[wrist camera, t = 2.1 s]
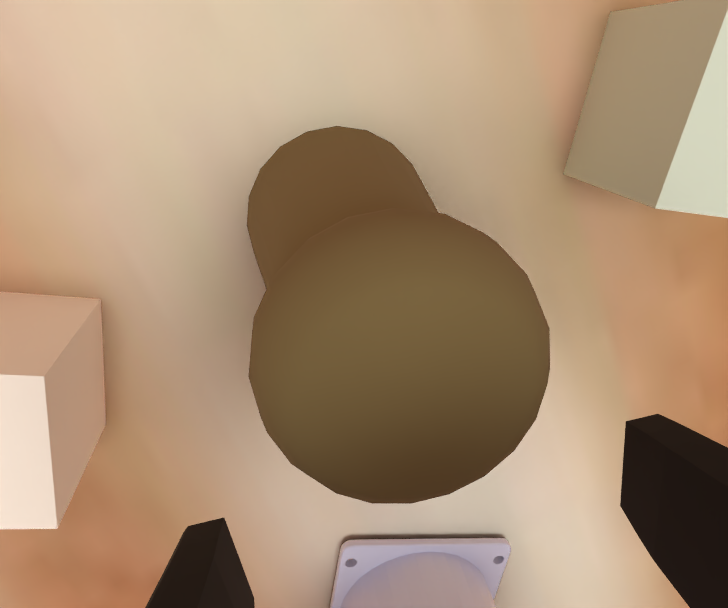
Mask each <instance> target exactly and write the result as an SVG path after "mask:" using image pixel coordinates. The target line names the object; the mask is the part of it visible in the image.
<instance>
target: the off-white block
mask: <svg viewBox="0 0 728 608" xmlns="http://www.w3.org/2000/svg"><path fill="white" fill-rule="evenodd" d="M105 425H106V409H105V384H104V358H103V332H102V307H101V299H97V298H83V297H69V296H56V295H42V294H28V293H15V292H1V291H0V529H58V526H59V524H60V522H61V520H62V518H63V516H64V513H65V511H66V509H67V507H68V505H69V503H70V501H71V498H72V496H73V494H74V492H75V490H76V488H77V486H78V483H79V481H80V479H81V477H82V475H83V473H84V470H85V468H86V466H87V464H88V462H89V460H90V458H91V455H92V453H93V451H94V449H95V447H96V445H97V442H98V440H99V438H100V436H101V434H102V432H103V430H104V427H105Z"/></svg>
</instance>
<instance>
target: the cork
mask: <svg viewBox="0 0 728 608" xmlns="http://www.w3.org/2000/svg"><path fill="white" fill-rule="evenodd" d="M247 227H248V231H249V235H250V239H251V243H252V247H253V250H254V254H255V257H256V260H257V263H258V265H259V268H260V271H261V274H262V277H263V280H264V283H265V286H266V289H267V290H266V292H265V294H264V297H263V299H262V301H261V303H260V305H259V308H258V310H257V312H256V314H255V316H254V321H253V330H252V342H251V354H250V366H249V379H250V383H251V386H252V389H253V393H254V396H255V400H256V403H257V406H258V410H259V413H260V416H261V419H262V421H263V423H264V426H265V428H266V431H267V433H268V434H269V436H270V437H271V438H272V439H273V441H274V442H275V443H276V445H277V446H278V447H279V448H280V450H281V451H282V452H283V454H284V455H285V456H286V458H287V459H288V460H289V461H290V463H291V464H292V465H294V466H295V467H297V468H298V469H300V470H301V471H303V472H304V473H306V474H307V475H309V476H310V477H312V478H313V479H315V480H316V481H318V482H320V483H321V484H323V485H324V486H326V487H327V488H329V489H330V490H332V491H334V492H335V493H337V494H341V495H344V496H348V497H352V498H355V499H359V500H362V501H366V502H370V503H415V502H419V501H423V500H427V499H431V498H435V497H439V496H443V495H447V494H450V493H452V492H454V491H456V490H458V489H460V488H462V487H464V486H466V485H468V484H470V483H472V482H474V481H476V480H478V479H480V478H482V477H484V476H485V475H486V474H487V473H489V472H490V471H491V470H492V469H493V468H494V467H496V466H497V465H498V464H499V463H500V462H501V461H503V460H504V459H505V458H506V457H507V456H508V455H510V454H511V453H512V452H513V451H514V450H515V449H516V447H517V446H518V444H519V443H520V441H521V440H522V438H523V437H524V436H525V434H526V433H527V431H528V430H529V428H530V427H531V426H532V424H533V423H534V421H535V420H536V417H537V414H538V411H539V408H540V405H541V402H542V399H543V396H544V393H545V390H546V387H547V383H548V376H549V370H550V342H549V326H548V324H547V321H546V319H545V316H544V314H543V311H542V309H541V306H540V304H539V301H538V299H537V296H536V294H535V291H534V289H533V287H532V285H531V283H530V280H529V278H528V276H527V274H526V273H525V272H524V271H523V270H522V269H521V268H520V267H519V266H518V264H517V263H516V262H515V261H514V260H513V259H512V258H511V257H510V256H509V255H508V254H507V253H506V252H505V251H504V250H503V248H502V247H501V246H500V245H499V244H498V243H497V242H495V241H494V240H493V239H491V238H490V237H488V236H487V235H486V234H484V233H483V232H481V231H478V230H476V229H474V228H472V227H470V226H468V225H466V224H464V223H462V222H460V221H458V220H456V219H454V218H452V217H450V216H448V215H446V214H442V213H438V211H437V209H436V208H435V206H434V204H433V202H432V200H431V198H430V196H429V195H428V193H427V191H426V189H425V187H424V185H423V184H422V182H421V180H420V178H419V176H418V174H417V172H416V171H415V169H414V167H413V165H412V164H411V163H410V162H409V161H408V160H407V159H406V158H405V156H404V155H403V154H402V153H401V152H400V151H399V150H398V149H397V148H396V147H395V146H394V145H393V144H392V143H390V142H388V141H386V140H384V139H382V138H380V137H378V136H376V135H374V134H372V133H371V132H369V131H367V130H360V129H353V128H346V127H339V126H335V127H330V128H324V129H319V130H314V131H308V132H306V133H304V134H302V135H300V136H299V137H297V138H295V139H293V140H292V141H290V142H288V143H286V144H284V145H283V146H281V147H280V148H279V149H278V150H277V151H276V152H275V153H274V155H273V156H272V157H271V158H270V159H269V160H268V161H267V162H266V164H265V165H264V166H263V167H262V168H261V169H260V171H259V174H258V176H257V179H256V181H255V183H254V186H253V188H252V190H251V193H250V195H249V203H248V217H247Z"/></svg>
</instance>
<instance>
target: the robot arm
mask: <svg viewBox="0 0 728 608" xmlns="http://www.w3.org/2000/svg"><path fill="white" fill-rule="evenodd" d="M620 506H621V508H622V509H623V511H624V513H625V514H626V516H627V518H628V519H629V521H630V523H631V525H632V526H633V528H634V530H635V531H636V533H637V535H638V536H639V538H640V539H641V541H642V543H643V544H644V546H645V547H646V549H647V551H648V552H649V554H650V555H651V557H652V558H653V560H654V561H655V563H656V564H657V565H658V567H659V568H660V569H661V571H662V572H663V573H664V575H665V576H666V577H667V578H668V580H669V581H670V582H671V584H672V585H673V586H674V588H675V589H676V590H677V591H678V593H679V594H680V595H681V597H682V598H683V599H684V600H685V602H686V603H687V604H688V606H689V607H690V608H728V448H727V447H725V446H723V445H721V444H719V443H717V442H715V441H713V440H711V439H709V438H707V437H705V436H703V435H701V434H699V433H697V432H695V431H693V430H691V429H689V428H687V427H685V426H683V425H681V424H679V423H677V422H675V421H672V420H670V419H668V418H666V417H664V416H662V415H659V414H655V415H651V416H647V417H643V418H639V419H634V420H630V421H626V428H625V443H624V458H623V473H622V488H621V503H620ZM510 552H511V547H510V545H509V543H508V541H507V540H506V539H505V538H448V539H362V540H348V541H346V542H345V543H344V544H342V546H341V548H340V554H339V559H338V565H337V570H336V575H335V581H334V586H333V592H332V597H331V603H330V608H496V605H495V603H494V598H495V595H496V592H497V589H498V587H499V584H500V581H501V578H502V575H503V572H504V569H505V566H506V563H507V561H508V558H509V555H510ZM348 559H351V560H348ZM145 608H254V596H253V594H252V591H251V588H250V586H249V583H248V580H247V578H246V575H245V572H244V570H243V567H242V564H241V562H240V559H239V556H238V554H237V551H236V548H235V545H234V543H233V540H232V537H231V535H230V532H229V529H228V527H227V524H226V521H225V519H224V518H221V519H216V520H212V521H208V522H204V523H200V524H195V525H191V526H188V527H187V528H186V530H185V531H184V533H183V535H182V537H181V539H180V541H179V543H178V545H177V547H176V549H175V551H174V553H173V555H172V557H171V559H170V561H169V563H168V565H167V567H166V569H165V571H164V573H163V575H162V577H161V579H160V580H159V582H158V584H157V586H156V588H155V590H154V592H153V594H152V596H151V598H150V600H149V602H148V604H147V606H146V607H145Z"/></svg>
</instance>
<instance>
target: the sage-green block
mask: <svg viewBox="0 0 728 608" xmlns="http://www.w3.org/2000/svg"><path fill="white" fill-rule="evenodd" d="M563 174H564V175H566V176H569V177H572V178H575V179H577V180H580V181H583V182H585V183H588V184H591V185H593V186H596V187H599V188H602V189H604V190H607V191H610V192H612V193H615V194H618V195H620V196H623V197H626V198H629V199H631V200H634V201H637V202H639V203H642V204H645V205H647V206H650V207H653V208H656V209H664V210H672V211H679V212H687V213H694V214H702V215H709V216H717V217H725V218H728V0H682V1H675V2H669V3H663V4H657V5H650V6H644V7H638V8H632V9H626V10H619V11H613V12H610V15H609V18H608V21H607V25H606V28H605V32H604V35H603V39H602V42H601V46H600V49H599V52H598V56H597V59H596V63H595V66H594V70H593V73H592V76H591V80H590V83H589V87H588V90H587V94H586V97H585V100H584V104H583V107H582V111H581V114H580V118H579V121H578V124H577V128H576V131H575V135H574V138H573V142H572V145H571V148H570V152H569V155H568V159H567V162H566V166H565V169H564V173H563Z"/></svg>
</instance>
